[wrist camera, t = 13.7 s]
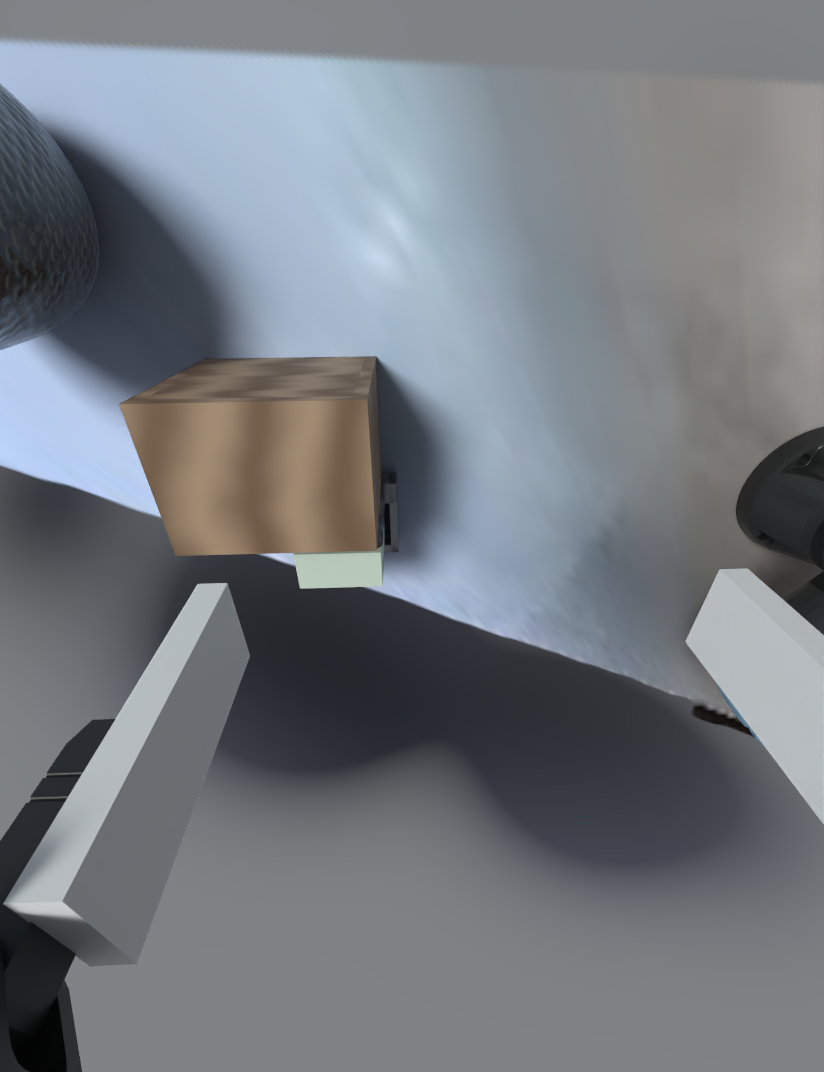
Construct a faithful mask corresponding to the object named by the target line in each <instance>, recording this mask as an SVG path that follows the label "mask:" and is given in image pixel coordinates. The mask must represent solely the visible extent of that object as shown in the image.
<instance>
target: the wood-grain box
mask: <svg viewBox="0 0 824 1072" xmlns="http://www.w3.org/2000/svg"><path fill="white" fill-rule="evenodd" d="M119 406H120V408H121V411H122V414H123V416H124V419H125V422H126V424H127V427H128V430H129V432H130V435H131V438H132V440H133V443H134V446H135V448H136V451H137V454H138V456H139V459H140V462H141V464H142V467H143V470H144V472H145V475H146V478H147V480H148V483H149V486H150V488H151V491H152V494H153V496H154V499H155V502H156V504H157V507H158V510H159V512H160V515H161V518H162V520H163V523H164V526H165V528H166V531H167V534H168V536H169V539H170V541H171V544H172V547H173V550H174V552H175V555H176V556H185V555H224V554H265V553H305V552H345V551H377V540H378V524H379V508H380V493H381V477H382V468H381V448H380V428H379V408H378V388H377V368H376V356H375V357H307V358H238V359H204V360H202V361H201V362H199V363H197V364H195V365H193V366H191V367H189V368H187V369H185V370H183V371H181V372H180V373H178V374H176V375H174V376H172V377H170V378H168V379H166V380H164V381H162V382H160V383H158V384H157V385H155V386H153V387H151V388H149V389H147V390H145V391H143V392H141V393H139V394H137V395H136V396H134V397H132V398H130V399H128V400H126V401H124V402H122V403H120V404H119Z"/></svg>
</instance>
